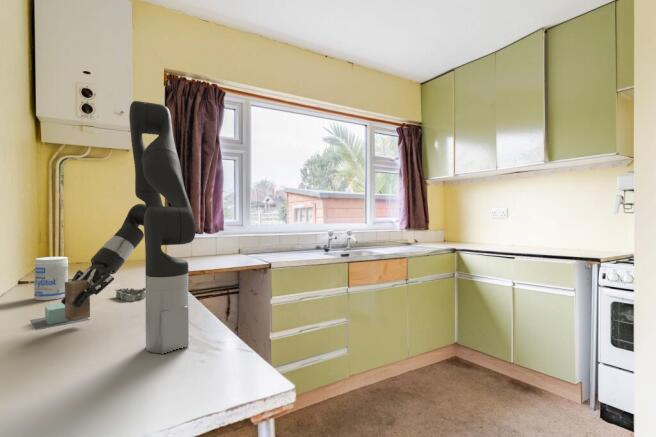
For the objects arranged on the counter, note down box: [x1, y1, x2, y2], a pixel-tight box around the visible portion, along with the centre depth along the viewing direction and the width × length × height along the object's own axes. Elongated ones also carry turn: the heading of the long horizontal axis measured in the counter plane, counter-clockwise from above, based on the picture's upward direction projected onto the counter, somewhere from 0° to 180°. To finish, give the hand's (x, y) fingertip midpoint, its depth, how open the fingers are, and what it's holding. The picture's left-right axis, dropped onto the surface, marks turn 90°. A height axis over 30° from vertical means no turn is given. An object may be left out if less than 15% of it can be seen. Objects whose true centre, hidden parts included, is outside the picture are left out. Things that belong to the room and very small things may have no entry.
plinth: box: [44, 303, 71, 325], centre depth 98 cm, size 6×6×4 cm
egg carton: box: [114, 287, 146, 302], centre depth 125 cm, size 11×8×4 cm
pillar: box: [65, 280, 91, 321], centre depth 92 cm, size 4×4×10 cm
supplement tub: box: [33, 256, 69, 301], centre depth 124 cm, size 10×10×15 cm
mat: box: [29, 316, 91, 331], centre depth 99 cm, size 12×12×1 cm
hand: (69, 304), depth 90 cm, fingers closed on pillar, 4 cm apart
